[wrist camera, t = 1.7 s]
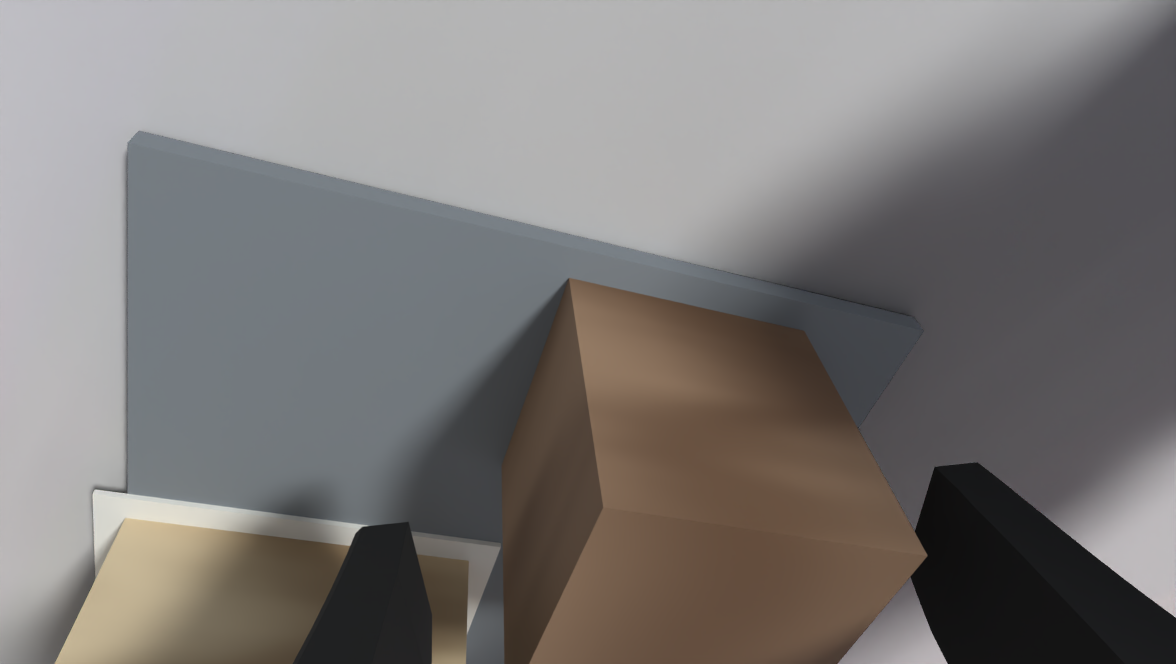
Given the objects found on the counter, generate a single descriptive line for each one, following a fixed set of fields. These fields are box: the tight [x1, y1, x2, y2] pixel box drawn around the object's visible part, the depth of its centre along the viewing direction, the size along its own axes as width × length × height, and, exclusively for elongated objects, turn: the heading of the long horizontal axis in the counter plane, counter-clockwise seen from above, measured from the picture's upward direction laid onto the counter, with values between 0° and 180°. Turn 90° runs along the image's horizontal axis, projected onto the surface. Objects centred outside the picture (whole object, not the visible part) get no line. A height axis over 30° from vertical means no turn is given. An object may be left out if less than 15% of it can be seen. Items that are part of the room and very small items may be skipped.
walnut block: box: [502, 278, 928, 664], centre depth 12 cm, size 4×4×4 cm
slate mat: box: [92, 131, 924, 664], centre depth 15 cm, size 12×14×1 cm
